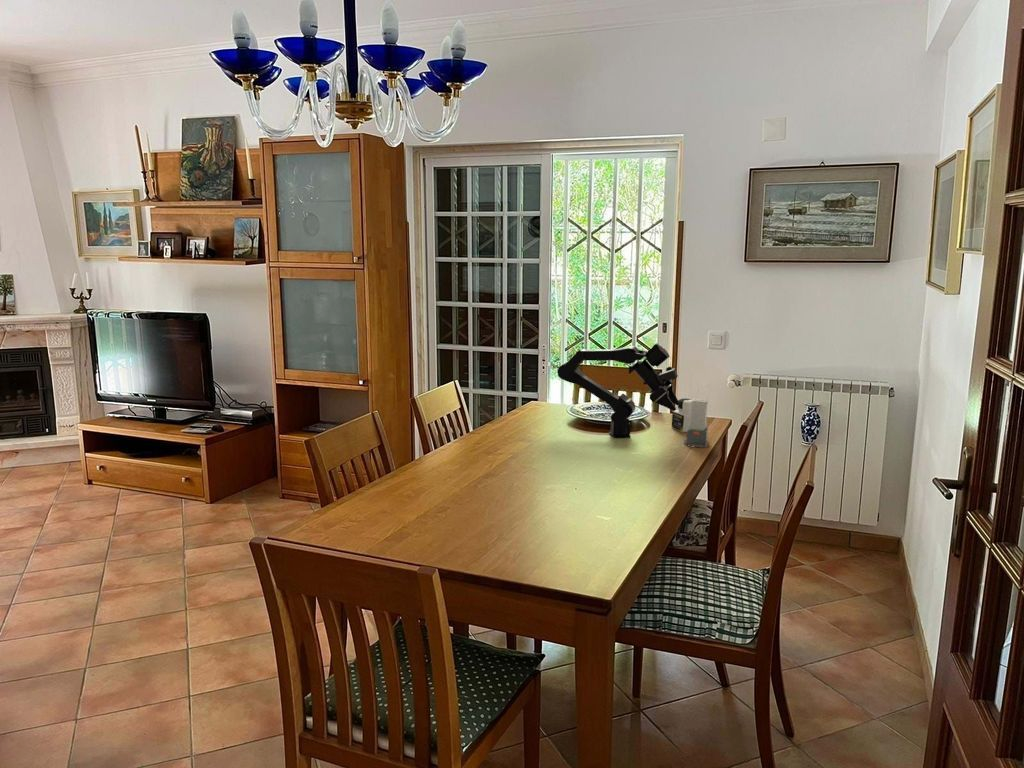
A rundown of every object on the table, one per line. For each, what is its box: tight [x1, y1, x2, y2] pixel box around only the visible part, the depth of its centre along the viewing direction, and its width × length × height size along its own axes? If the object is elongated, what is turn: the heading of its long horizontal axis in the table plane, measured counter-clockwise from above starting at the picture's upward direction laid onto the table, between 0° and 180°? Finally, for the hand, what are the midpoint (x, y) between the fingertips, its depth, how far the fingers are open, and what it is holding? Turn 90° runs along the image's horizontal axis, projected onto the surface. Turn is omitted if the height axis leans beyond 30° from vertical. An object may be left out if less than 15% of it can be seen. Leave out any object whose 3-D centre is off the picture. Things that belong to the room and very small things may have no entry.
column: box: [690, 397, 709, 432], centre depth 266 cm, size 5×5×12 cm
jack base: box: [683, 426, 711, 448], centre depth 268 cm, size 9×9×6 cm
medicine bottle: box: [671, 398, 693, 433], centre depth 286 cm, size 7×7×12 cm
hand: (676, 407), depth 268 cm, fingers open, 9 cm apart
